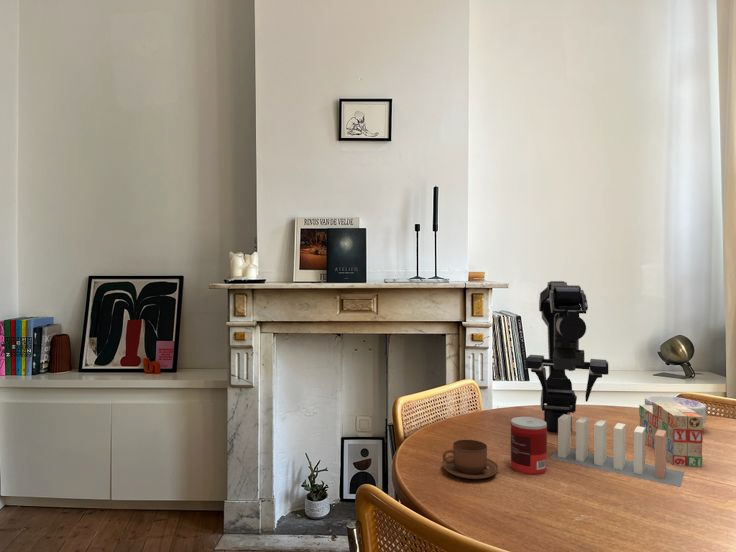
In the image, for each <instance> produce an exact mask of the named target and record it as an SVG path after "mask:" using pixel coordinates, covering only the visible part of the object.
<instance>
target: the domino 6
mask: <svg viewBox="0 0 736 552" xmlns="http://www.w3.org/2000/svg"><path fill="white" fill-rule="evenodd" d="M654 466H655V477H656V478H661V479H664V477H665V474H666V468H667V459H666V431H664V430H657V432H656V434H655V448H654Z"/></svg>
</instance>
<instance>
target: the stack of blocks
mask: <svg viewBox="0 0 736 552" xmlns="http://www.w3.org/2000/svg"><path fill="white" fill-rule="evenodd" d="M638 410H639V415H638V416H639V426H640V427H645V445H647V446H649V447H651V448H653V449H655V434H656V432H657V430H664V431H666V462H669V463H670V464H671V465H672V466H684V467H695V468H696V467H697V468H699V467H700V468H702V467H703V442H704V441H703V439H704V436H703V434H704V433H703V432H704V430H703V425H704V424H703V417H702V416H700V415H699V414H697V413H696V412H695V411H693V410H691V409H689V408H687V407H685V406H683V405H681V404H679V403H665V402H653V405H645V404H639V409H638Z"/></svg>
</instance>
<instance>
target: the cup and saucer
mask: <svg viewBox="0 0 736 552" xmlns="http://www.w3.org/2000/svg"><path fill="white" fill-rule="evenodd" d="M452 444H453V445H452V449H446V450H445V451H444V452H443V454H442V462H441V463H442V467H443V468H444V470H446V472H448V473H449V474H451V475H453V476H455V477H458V478H463V479H468V480H481V479H486V478H490V477H492V476H494V475H495V474H496V473H497V472H498V468H499V466H498V463H496V462H495V461H493V460H492V459H490V458H488V446H487V444H486V443H484V442H482V441H478V440H476V439H460V440H455V441H454V442H453V443H452ZM449 453H450V454H452V455H450V456H447V454H449ZM446 456H447V457H446Z"/></svg>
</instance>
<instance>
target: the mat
mask: <svg viewBox="0 0 736 552" xmlns="http://www.w3.org/2000/svg"><path fill="white" fill-rule="evenodd" d="M549 459H550V460H555V461H559V462H560V461H561V462H564V463H568V464H571V465H572V464H574V465H579V466H582V467H585V468H586V467H587V468H591V469H596V470H600V471H605V472H610V473H615V474H619V475H623V476H627V477H632V478H637V479H642V480H645V481H646V480H647V481H651V482H655V483H659V484H664V485H669V486H673V487H678V488H682V484H683V479H684V475H685V471H681V470H677V469H673V468H667V467H666V474H665V477H664V479H661V478H656V477H655V465H652V464H647V463H645V469H644V472H643V474H637V473H634V460H627V459H625V465H624V467H623V468H622V470H619V469H614V456H609V455H606V461H605V462H604V464H603V465H602V466H600V465H596V464H594V452H589V451H588V457H587V458H586V459H585V460H584V461H583V462H582V461H577V460H576V449H573V448H571V452H570V453H569V454H568V455H567V456H566V457H565V458H563V457H558V450H557V451H556V452H555V453H553V455H552V456H550V458H549Z"/></svg>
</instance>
